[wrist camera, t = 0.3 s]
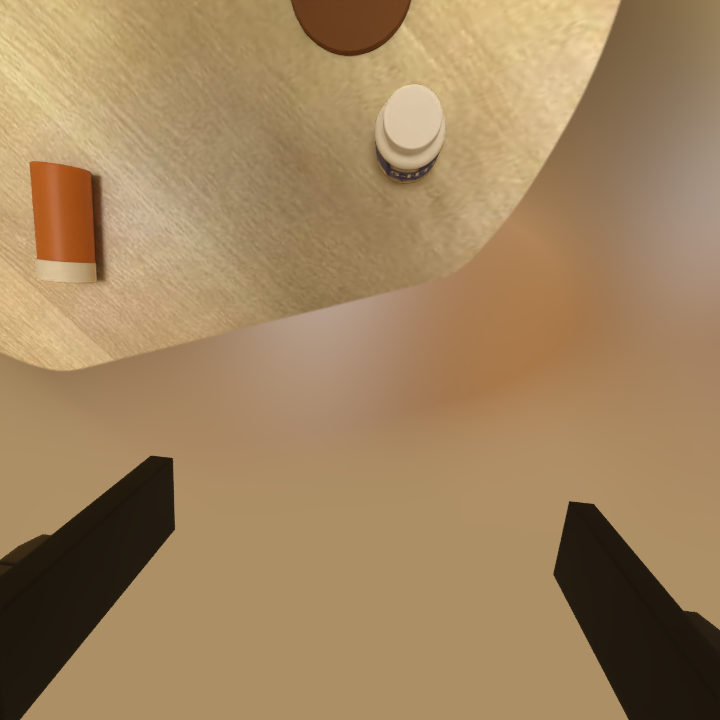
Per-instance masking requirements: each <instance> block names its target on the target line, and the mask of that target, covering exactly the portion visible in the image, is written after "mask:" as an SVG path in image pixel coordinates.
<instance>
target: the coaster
mask: <svg viewBox="0 0 720 720" xmlns="http://www.w3.org/2000/svg"><path fill="white" fill-rule="evenodd" d="M291 1H292V5H293V8H294V10H295V13H296V16H297V18H298V20H299V22H300V24H301V26H302V27H303V29H304V30H305V32H306V33H307V34H308V35H309V37H310V38H311V39H312V40H313V41H315V42H316V43H317V44H318V45H320V46H321V47H323V48H324V49H326V50H328V51H331V52H334V53H337V54H342V55H358V54H363V53H366V52H369V51H371V50H374V49H376V48H377V47H379V46H380V45H382V44H384V43H385V42H386V41H387V40H388V39H389V38H390V37H391V36H392V35H393V34H394V33H395V32H396V31H397V29H398V28H399V26H400V25H401V23H402V21H403V20H404V18H405V16H406V13H407V11H408V8H409V5H410V2H411V0H291Z"/></svg>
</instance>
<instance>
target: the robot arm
mask: <svg viewBox="0 0 720 720" xmlns="http://www.w3.org/2000/svg"><path fill="white" fill-rule="evenodd" d="M174 519H175V518H174V482H173V458H167V457H158V456H150V457H149V458H147V459H146V460H145V461H144V462H142V463H141V464H140V465H139V466H137V467H136V468H135V469H134V470H132V471H131V472H130V473H129V474H127V475H126V476H125V477H124V478H122V479H121V480H120V481H119V482H117V483H116V484H115V485H114V486H112V487H111V488H110V489H109V490H107V491H106V492H105V493H104V494H102V495H101V496H100V497H99V498H97V499H96V500H95V501H94V502H92V503H91V504H90V505H89V506H87V507H86V508H85V509H84V510H82V511H81V512H80V513H79V514H77V515H76V516H75V517H74V518H72V519H71V520H70V521H69V522H67V523H66V524H65V525H64V526H62V527H61V528H60V529H59V530H57V531H56V532H55V533H54V534H52V535H40V536H38V537H36V538H34V539H32V540H30V541H28V542H26V543H24V544H22V545H20V546H18V547H17V548H15V549H14V550H13V551H11V552H10V553H9V554H8V555H6V556H5V557H3V558H2V559H1V560H0V720H20V719H21V718H22V717H23V715H24V714H25V713H26V712H27V710H28V709H29V708H30V707H31V705H32V704H33V703H34V702H35V701H36V699H37V698H38V697H39V696H40V694H41V693H42V692H43V691H44V689H45V688H46V687H47V686H48V684H49V683H50V682H51V681H52V679H53V678H54V677H55V676H56V675H57V673H58V672H59V671H60V670H61V669H62V667H63V666H64V665H65V664H66V662H67V661H68V660H69V659H70V658H71V656H72V655H73V654H74V653H75V651H76V650H77V649H78V648H79V647H80V645H81V644H82V643H83V641H84V640H85V639H86V638H87V637H88V635H89V634H90V633H91V632H92V630H93V629H94V628H95V627H96V625H97V624H98V623H99V622H100V621H101V619H102V618H103V617H104V616H105V615H106V613H107V612H108V611H109V610H110V608H111V607H112V606H113V605H114V603H115V602H116V601H117V600H118V599H119V597H120V596H121V595H122V594H123V592H124V591H125V590H126V589H127V588H128V586H129V585H130V584H131V583H132V581H133V580H134V579H135V578H136V576H137V575H138V574H139V573H140V572H141V570H142V569H143V568H144V567H145V565H146V564H147V563H148V562H149V560H150V559H151V558H152V557H153V556H154V554H155V553H156V552H157V551H158V549H159V548H160V547H161V546H162V545H163V543H164V542H165V541H166V540H167V538H168V537H169V536H170V535H171V533H172V532H173V531H174V530H175V520H174ZM554 576H555V579H556V580H557V582H558V584H559V586H560V588H561V590H562V592H563V594H564V596H565V598H566V600H567V602H568V603H569V606H570V607H571V609H572V611H573V613H574V615H575V617H576V619H577V621H578V623H579V625H580V627H581V629H582V631H583V633H584V634H585V636H586V638H587V640H588V642H589V644H590V646H591V648H592V650H593V652H594V654H595V656H596V658H597V660H598V661H599V663H600V665H601V667H602V669H603V671H604V673H605V675H606V677H607V679H608V681H609V683H610V685H611V686H612V688H613V690H614V692H615V694H616V696H617V698H618V700H619V702H620V704H621V706H622V708H623V710H624V712H625V713H626V715H627V717H628V719H629V720H720V630H719V629H718V628H716V627H715V626H714V625H713V624H711V623H710V622H709V621H707V620H706V619H705V618H703V617H702V616H701V615H700V614H698V613H697V612H689V611H683V610H682V609H681V608H680V606H679V605H678V604H677V603H676V602H675V601H674V599H673V598H672V597H671V596H670V595H669V593H668V592H667V591H666V590H665V588H664V587H663V586H662V585H661V584H660V583H659V581H658V580H657V579H656V578H655V577H654V575H653V574H652V573H651V572H650V571H649V569H648V568H647V567H646V566H645V565H644V564H643V562H642V561H641V560H640V559H639V558H638V556H637V555H636V554H635V553H634V551H633V550H632V549H631V548H630V547H629V546H628V544H627V543H626V542H625V541H624V540H623V538H622V537H621V536H620V535H619V534H618V532H617V531H616V530H615V529H614V528H613V526H612V525H611V524H610V523H609V522H608V521H607V519H606V518H605V517H604V516H603V514H602V513H601V512H600V511H599V510H598V509H597V507H596V506H595V505H594V504H589V503H580V502H571V501H570V502H569V505H568V510H567V515H566V519H565V523H564V528H563V533H562V537H561V542H560V546H559V551H558V556H557V560H556V564H555V569H554Z"/></svg>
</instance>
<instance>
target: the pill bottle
mask: <svg viewBox="0 0 720 720" xmlns="http://www.w3.org/2000/svg"><path fill="white" fill-rule="evenodd" d="M445 136H446V119H445V115H444V112H443V110H442V107H441V103H440V101H439V99H438V97H437V96H436V94H435V93H434V92H433V91H432V90H431V89H429V88H428V87H426V86H423V85H420V84H409V85H405V86H403V87H401V88H399V89H398V90H396V91H395V92H394V93H393V94H392V95H391V96H390V98H389V99H388V100H387V101H386V103H385V104H384V105H383V106H382V108H381V109H380V111H379V113H378V116H377V119H376V123H375V144H376V154H377V160H378V163H379V166H380V168H381V169H382V171H383V172H384V173H385V174H386V175H387V176H388V177H389V178H390V179H392V180H394V181H396V182H400V183H411V182H415V181H418V180H420V179H421V178H423V177H424V176H425V175H426V174H427V173H428V172H429V171H430V170H431V168H432V167H433V165H434V163H435V161H436V159H437V157H438V154H439V152H440V150H441V148H442V146H443V143H444V140H445Z"/></svg>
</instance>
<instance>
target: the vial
mask: <svg viewBox="0 0 720 720" xmlns="http://www.w3.org/2000/svg"><path fill="white" fill-rule="evenodd" d="M30 174H31V187H32V199H33V212H34V225H35V237H36V250H37V258H36V259H35V267H36V278H37V279H38V280H42V281H50V282H64V283H94V282H97V275H96V263H95V244H94V223H93V202H92V182H91V172H89V171H87V170H84V169H80V168H76V167H71V166H66V165H61V164H55V163H47V162H36V161H33V162H30Z"/></svg>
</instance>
